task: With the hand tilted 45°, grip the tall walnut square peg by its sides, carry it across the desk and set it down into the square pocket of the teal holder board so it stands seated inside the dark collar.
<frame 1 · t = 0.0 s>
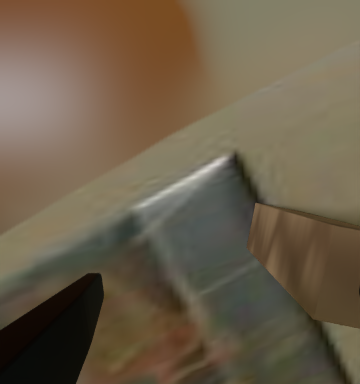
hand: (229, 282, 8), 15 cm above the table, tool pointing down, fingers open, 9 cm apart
peg: (273, 229, 24), on the table
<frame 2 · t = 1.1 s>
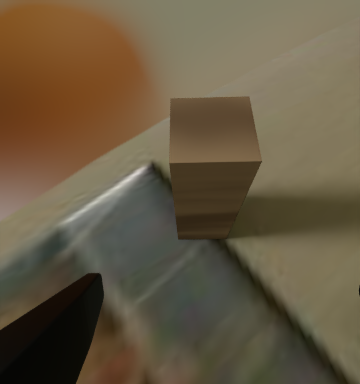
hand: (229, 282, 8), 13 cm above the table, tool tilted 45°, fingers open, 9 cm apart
peg: (201, 216, 24), on the table
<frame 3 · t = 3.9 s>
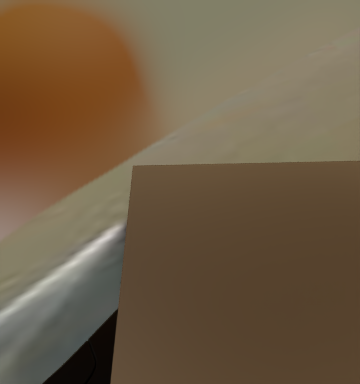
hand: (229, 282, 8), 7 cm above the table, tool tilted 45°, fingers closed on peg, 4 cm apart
peg: (214, 326, 14), on the table, touching gripper
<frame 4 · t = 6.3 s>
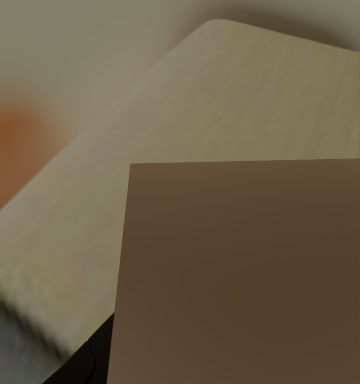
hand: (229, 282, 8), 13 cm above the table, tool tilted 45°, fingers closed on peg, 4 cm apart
peg: (213, 325, 14), point 7 cm above the table, touching gripper
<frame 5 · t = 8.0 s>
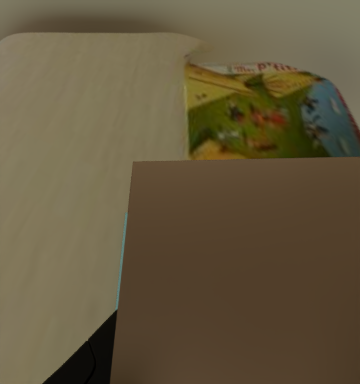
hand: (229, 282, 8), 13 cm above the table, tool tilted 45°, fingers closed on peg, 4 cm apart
peg: (214, 324, 14), point 6 cm above the table, touching gripper
when the fingers open (9 cm above the table, at t = 9.1 s): peg drops 1 cm, resting on holder.
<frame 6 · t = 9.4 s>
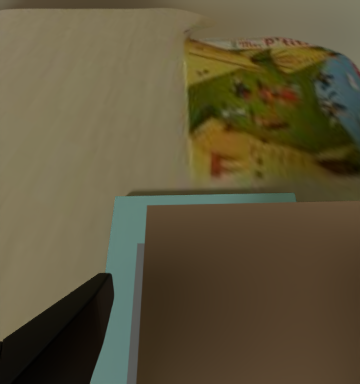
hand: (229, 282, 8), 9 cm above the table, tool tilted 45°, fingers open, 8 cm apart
peg: (212, 324, 15), point 1 cm above the table, touching holder
holder: (210, 325, 16), on the table
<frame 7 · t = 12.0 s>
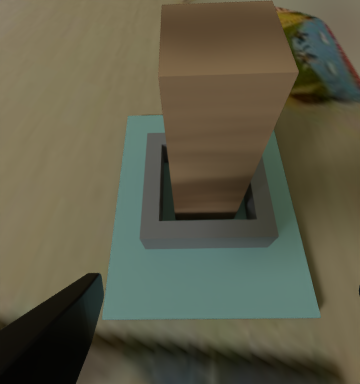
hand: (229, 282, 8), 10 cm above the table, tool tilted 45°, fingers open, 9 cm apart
peg: (203, 194, 20), point 1 cm above the table, touching holder
holder: (202, 199, 21), on the table
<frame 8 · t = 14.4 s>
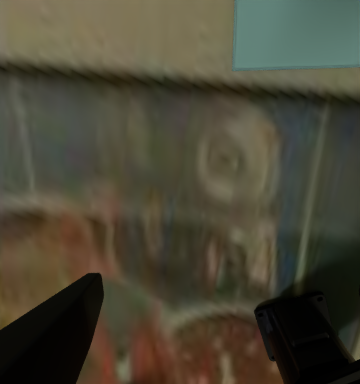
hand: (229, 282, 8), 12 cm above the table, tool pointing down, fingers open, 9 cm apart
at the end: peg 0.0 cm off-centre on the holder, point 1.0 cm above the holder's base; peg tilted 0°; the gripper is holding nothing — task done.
